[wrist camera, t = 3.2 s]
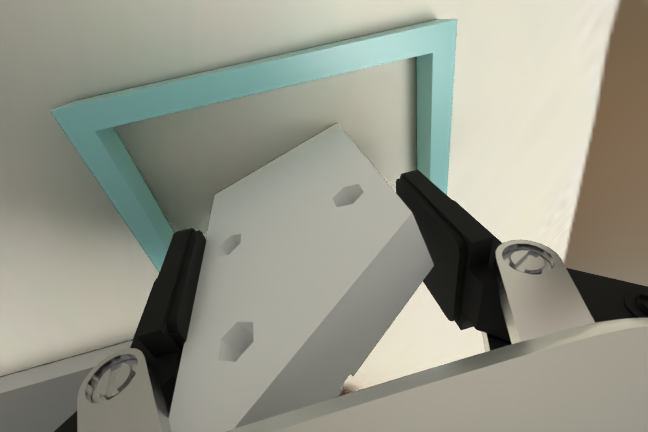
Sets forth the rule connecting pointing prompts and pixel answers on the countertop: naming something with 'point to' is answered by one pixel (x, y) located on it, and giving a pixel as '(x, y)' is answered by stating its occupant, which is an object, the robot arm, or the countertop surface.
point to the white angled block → (294, 285)
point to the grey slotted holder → (46, 392)
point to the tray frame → (247, 79)
